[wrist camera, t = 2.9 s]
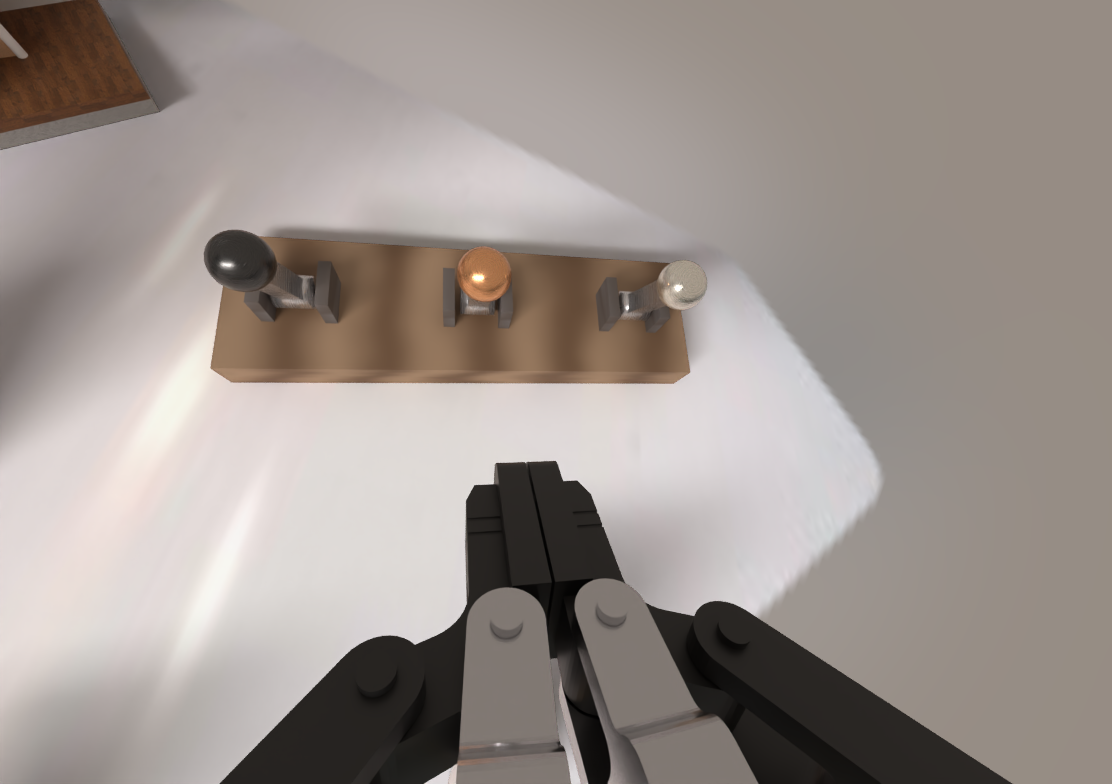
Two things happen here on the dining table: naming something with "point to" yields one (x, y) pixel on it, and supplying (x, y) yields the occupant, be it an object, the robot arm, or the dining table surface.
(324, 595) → the dining table surface
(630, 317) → the cream lever
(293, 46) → the dining table surface
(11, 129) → the display case
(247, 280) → the black lever
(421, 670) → the robot arm
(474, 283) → the orange lever
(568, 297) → the switch panel
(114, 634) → the dining table surface
